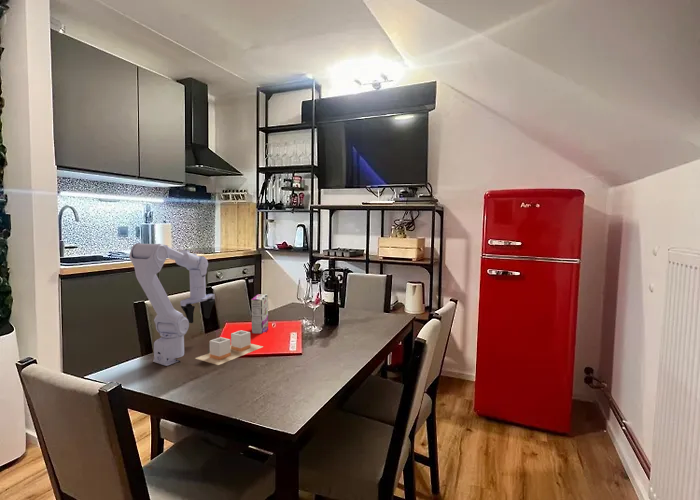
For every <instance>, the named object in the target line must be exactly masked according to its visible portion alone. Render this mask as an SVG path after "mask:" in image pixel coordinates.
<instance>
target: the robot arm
mask: <svg viewBox="0 0 700 500" xmlns="http://www.w3.org/2000/svg"><path fill="white" fill-rule="evenodd" d="M128 258H129V259H130V262H131V263H132V265H133V268H134V271H135V272H134V273H135V277H136V279H137V281H138V283H139V285H140V287H141V289H142V290H143V292H144V294H145V296H146V297H147V299H148V301H149V303H150V304H151V306H152V307H153V310H154V311H155V313H156V315H155V316H154V319H153V322H154V324H155V330H156V331H157V332H158V334H159V336H160V337H159V338H158V339H156V340H155V341H154V342H153V360H152V363H153V362H154V363H156V364H159V365H162V366H165V367H166V366H170V365H173V364H176V363H178V362H179V363H180V362H181V360H180V359H178V358H182V357H183V356H185V335H186V334H187V333H188V330H189V327H190V324H193V323H194V311H195V308H196V306H195V305H193V304H198V303H202V308H203V317H204V319H210V316H211V312H212V309H213V307H214V305H215V303H216V300H215V299H216V294H215V293H208V294H207V293H206V292H207V291H206V285H207V283H206V275H207V273H208V267H209V262H208V259H207V258H206V257H205V256H203V255H201V256H200V255H198V254H197V253H195V252H194V253H191V252H190V250H189V249H181V250H179V251H178V250H176V249H174V248H172V247H170V246H169V245H167V244H163V243H141V242H136V243H134V244H133V246H132V247H131V249H130V252H129V256H128ZM167 259H169V260H173V261H175V264H176V265H178V266H181V267H184V268H186V270H188V271H189V272H188V273H189V297H188V298H185V299H182V300H180V305H179V306H180V307H181V309H182V311H183V313H182V312H180V311H179V310H177V309H175V307H174V306H173V304H172V302H171V300H170V298H169V296H168V294H167V292H166V291H165V288H164V287H163V285H162V283H161V281H160V279H159V277H158V275H157V274H158V273H160V272H161V270H162V268H163V266H164V265H165V262H166V261H167ZM184 314H185V316H184Z"/></svg>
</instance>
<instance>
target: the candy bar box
mask: <svg viewBox="0 0 700 500" xmlns="http://www.w3.org/2000/svg"><path fill="white" fill-rule="evenodd" d="M268 297H269V294H267V293H265V294H262V293H260V294H259V293H258V294H256V295H255V296H253V298H251V299H250V305H251V306H250V308H251V310H250V311H251V313H250V314H251V334H263V333H265V332H267V331H268V330H269V301H268V300H269V299H268Z"/></svg>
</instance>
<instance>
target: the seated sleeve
mask: <svg viewBox="0 0 700 500" xmlns="http://www.w3.org/2000/svg"><path fill="white" fill-rule="evenodd" d="M251 342H252V341H251V332H250V331H246V330H237V331H235V332H231V333H230V345H231V349H233V350H237V351H243V350H246V349H248V348H251V344H252V343H251Z"/></svg>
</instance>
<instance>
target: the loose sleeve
mask: <svg viewBox="0 0 700 500" xmlns="http://www.w3.org/2000/svg"><path fill="white" fill-rule="evenodd" d="M230 345H231V338H226V337H224V336H219V337H217V338H213V339H211V340H209V353H210V357H211V358H214V359H218V360H221V359H223V358H226V357H228V356H231V348H230Z"/></svg>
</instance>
